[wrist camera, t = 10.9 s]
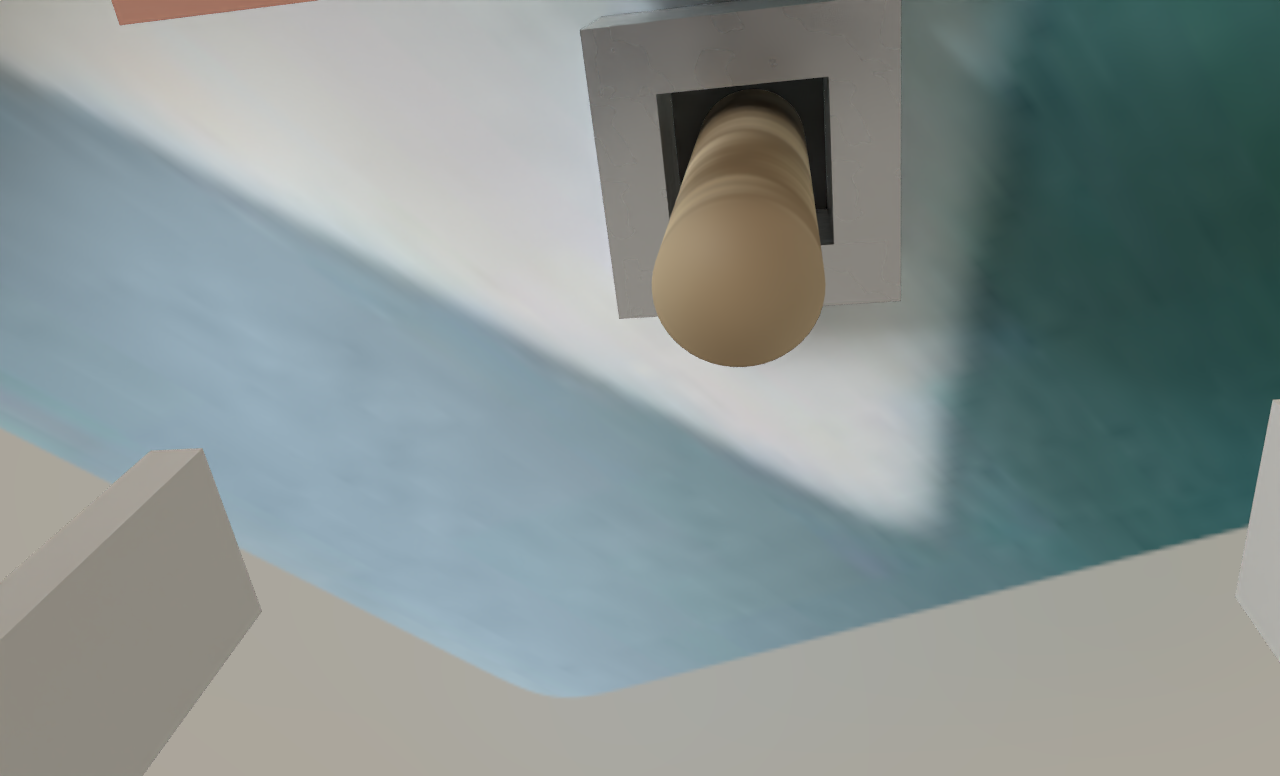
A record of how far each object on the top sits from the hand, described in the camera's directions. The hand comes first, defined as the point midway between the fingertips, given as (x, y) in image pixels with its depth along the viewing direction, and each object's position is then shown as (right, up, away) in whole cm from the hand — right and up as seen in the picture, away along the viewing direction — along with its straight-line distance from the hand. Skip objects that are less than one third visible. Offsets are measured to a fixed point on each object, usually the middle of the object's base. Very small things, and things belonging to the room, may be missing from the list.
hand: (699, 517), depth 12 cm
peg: (+3, +10, +20) cm, 23 cm away
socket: (+3, +10, +20) cm, 23 cm away
